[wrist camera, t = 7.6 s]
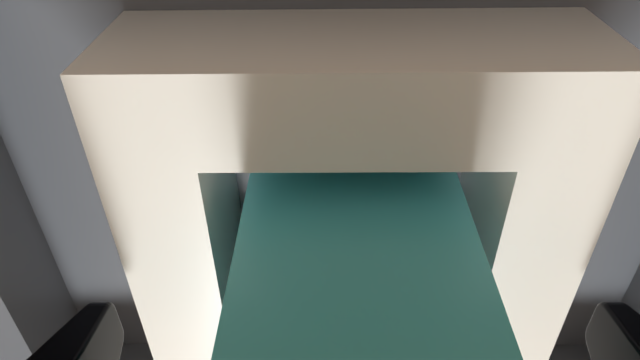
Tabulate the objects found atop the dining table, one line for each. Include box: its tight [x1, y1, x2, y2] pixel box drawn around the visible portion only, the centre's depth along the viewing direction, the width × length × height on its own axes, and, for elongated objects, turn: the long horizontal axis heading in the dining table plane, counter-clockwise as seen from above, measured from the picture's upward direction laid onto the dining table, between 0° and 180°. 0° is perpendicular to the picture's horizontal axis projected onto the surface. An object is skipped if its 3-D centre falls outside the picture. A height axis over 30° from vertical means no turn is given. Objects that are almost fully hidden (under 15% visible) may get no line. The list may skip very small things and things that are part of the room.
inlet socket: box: [60, 7, 640, 360], centre depth 12 cm, size 9×9×3 cm
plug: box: [211, 172, 523, 360], centre depth 10 cm, size 4×4×8 cm
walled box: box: [0, 0, 640, 360], centre depth 11 cm, size 18×16×3 cm
